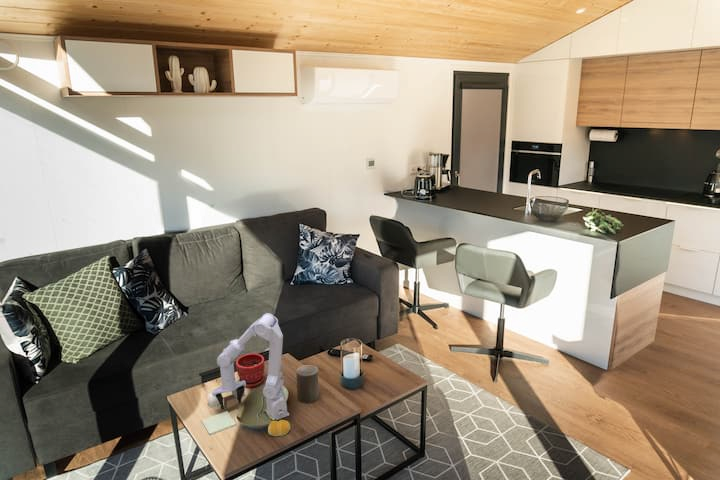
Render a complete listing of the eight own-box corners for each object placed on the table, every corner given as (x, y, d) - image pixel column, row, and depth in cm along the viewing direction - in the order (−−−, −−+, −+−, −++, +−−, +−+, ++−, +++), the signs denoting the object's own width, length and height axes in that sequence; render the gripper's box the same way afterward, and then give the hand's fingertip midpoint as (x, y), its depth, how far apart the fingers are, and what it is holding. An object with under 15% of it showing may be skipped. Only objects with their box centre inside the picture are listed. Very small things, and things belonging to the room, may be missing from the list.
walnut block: (238, 408, 215) (237, 398, 213) (227, 412, 212) (226, 402, 211) (234, 404, 218) (233, 394, 217) (224, 407, 216) (223, 397, 214)
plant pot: (232, 382, 236) (230, 359, 232) (256, 372, 244) (255, 350, 241) (246, 393, 226) (244, 369, 223) (271, 382, 235) (269, 359, 232)
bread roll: (291, 435, 197) (290, 426, 196) (268, 438, 195) (267, 429, 194) (290, 422, 204) (289, 414, 203) (268, 425, 203) (267, 417, 202)
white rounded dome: (221, 404, 218) (220, 394, 216) (210, 408, 215) (209, 398, 214) (218, 399, 222) (216, 389, 220) (207, 403, 219) (205, 393, 218)
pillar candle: (304, 406, 215) (303, 375, 212) (293, 396, 223) (292, 366, 219) (323, 398, 221) (322, 368, 217) (311, 389, 229) (310, 359, 225)
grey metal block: (244, 395, 224) (244, 387, 223) (238, 399, 221) (237, 392, 220) (239, 392, 227) (238, 385, 226) (232, 397, 224) (231, 389, 222)
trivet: (236, 425, 203) (236, 423, 203) (209, 435, 197) (209, 433, 197) (227, 412, 212) (227, 411, 212) (201, 421, 206) (201, 420, 206)
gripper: (240, 368, 218) (243, 395, 222) (208, 378, 211) (211, 406, 214) (246, 375, 213) (249, 402, 216) (213, 385, 205) (216, 414, 208)
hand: (230, 405), depth 215 cm, fingers open, 7 cm apart
